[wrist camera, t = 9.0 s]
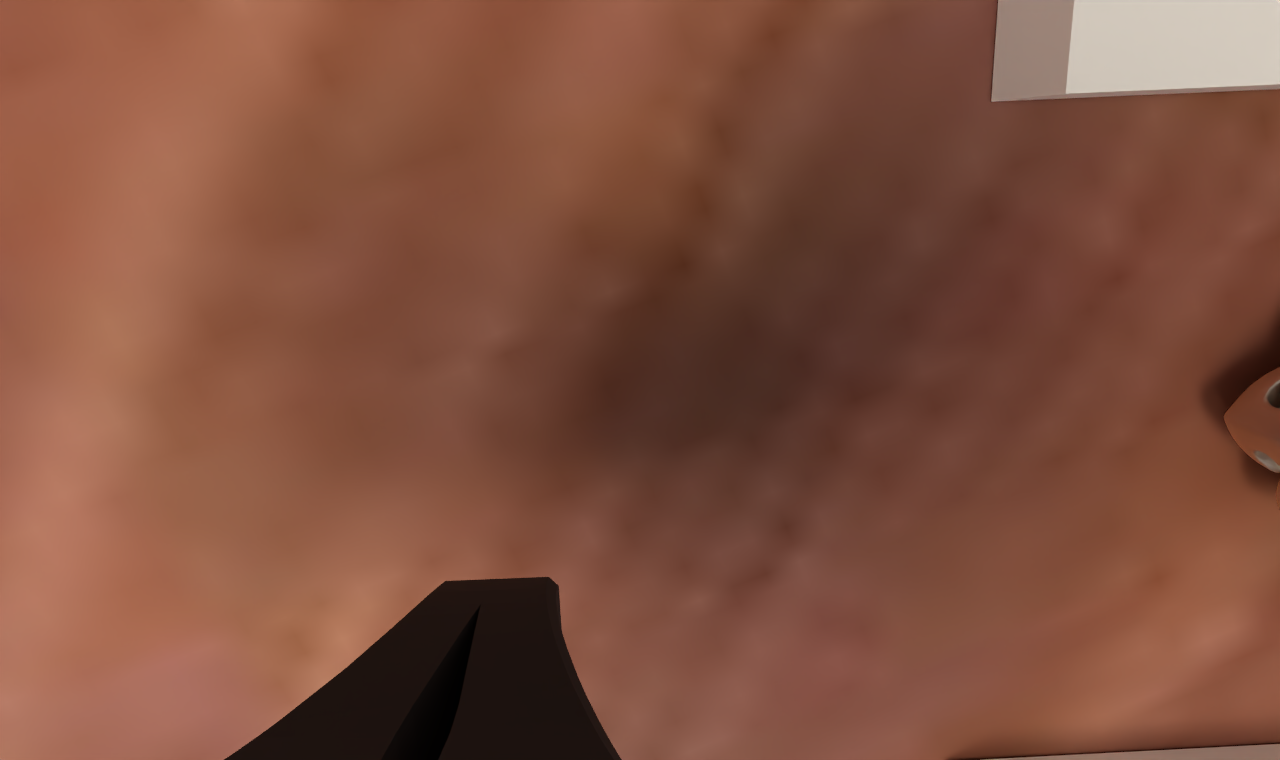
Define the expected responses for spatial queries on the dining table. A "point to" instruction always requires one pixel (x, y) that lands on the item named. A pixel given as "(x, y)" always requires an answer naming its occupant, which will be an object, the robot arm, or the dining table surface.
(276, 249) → the dining table surface
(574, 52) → the dining table surface
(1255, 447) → the ornament
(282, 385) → the dining table surface
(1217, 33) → the u-shaped frame
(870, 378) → the dining table surface
